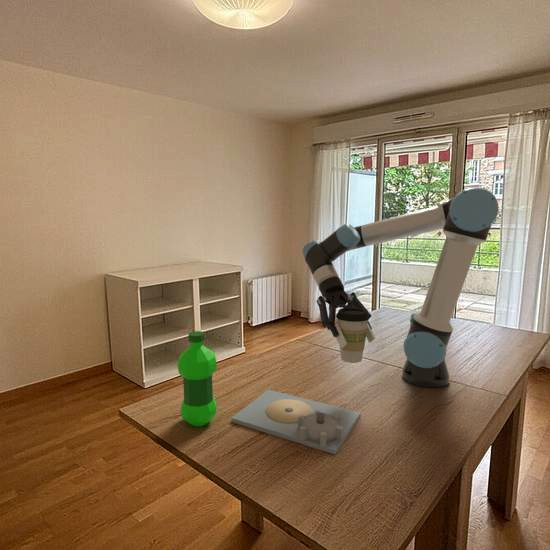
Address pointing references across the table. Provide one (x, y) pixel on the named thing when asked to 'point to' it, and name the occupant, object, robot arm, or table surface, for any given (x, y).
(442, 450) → the table surface
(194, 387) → the plastic bottle
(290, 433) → the gear board
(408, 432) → the table surface
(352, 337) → the coffee cup
